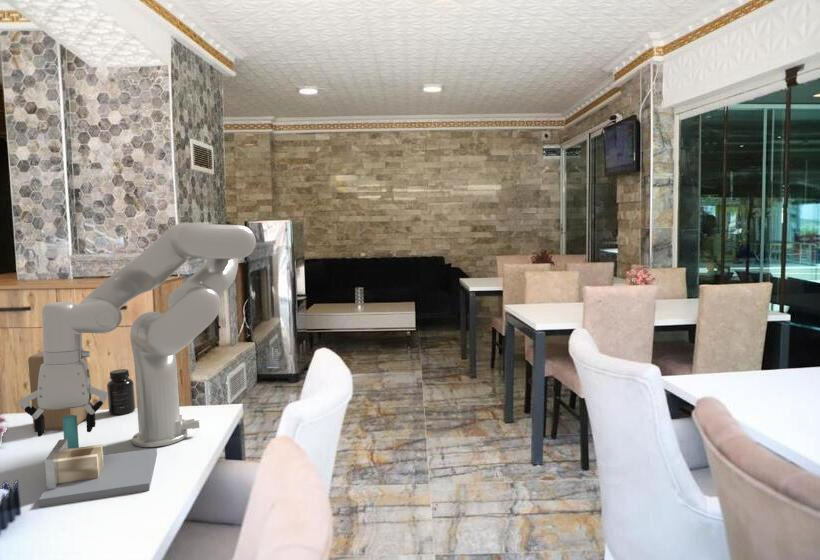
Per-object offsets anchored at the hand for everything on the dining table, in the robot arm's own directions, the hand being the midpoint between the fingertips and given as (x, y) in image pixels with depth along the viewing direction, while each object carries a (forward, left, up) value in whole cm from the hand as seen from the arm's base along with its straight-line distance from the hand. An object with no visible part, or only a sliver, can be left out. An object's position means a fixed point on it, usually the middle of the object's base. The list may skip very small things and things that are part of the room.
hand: (65, 432), depth 133 cm
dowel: (-1, 0, -7) cm, 7 cm away
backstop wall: (-1, +14, -5) cm, 15 cm away
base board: (-9, +14, -7) cm, 18 cm away
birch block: (-5, +14, -5) cm, 15 cm away
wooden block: (+7, -29, -7) cm, 31 cm away
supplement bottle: (-7, -35, -7) cm, 37 cm away
